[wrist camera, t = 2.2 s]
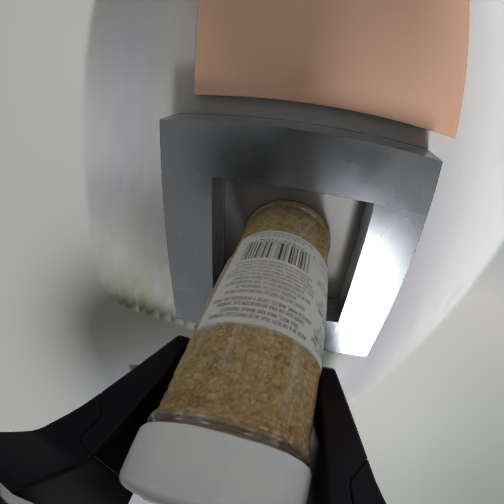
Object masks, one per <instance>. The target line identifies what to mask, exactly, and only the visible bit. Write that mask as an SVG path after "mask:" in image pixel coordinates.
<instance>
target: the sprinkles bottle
mask: <svg viewBox="0 0 504 504" xmlns="http://www.w3.org/2000/svg"><path fill="white" fill-rule="evenodd" d="M329 249H330V233H329V231H328V228H327V225H326V224H325V222H324V220H323V219H322V217H321V216H319V215H318V213H317V212H316V211H314V210H313V209H312V208H310V207H308V206H306V205H304V204H302V203H299V202H294V201H289V200H281V201H273V202H270V203H268V204H265V205H264V206H261V207H260V208H259V209H258V210H256V211H255V212H254V213H253V214H252V215H251V216H250V218H249V219H248V221H247V224H246V227H245V229H244V234H243V236H242V238H241V240H240V242H239V244H238V246H237V248H236V250H235V252H234V254H233V255H232V256H231V257H230V258H229V260H228V262H227V264H226V266H225V267H224V269H223V271H222V273H221V275H220V277H219V279H218V281H217V283H216V285H215V287H214V289H213V291H212V293H211V295H210V297H209V299H208V301H207V304H206V308H205V310H204V312H203V314H202V316H201V317H200V319H199V322H198V324H197V325H196V328H195V330H194V332H193V335H192V337H191V338H190V340H189V342H188V345H187V347H186V350H185V352H184V355H183V356H182V357H181V359H180V361H179V364H178V366H177V368H176V370H175V372H174V374H173V378H172V380H171V382H170V383H169V386H168V390H167V391H166V392H165V393H164V396H163V399H162V400H161V402H160V406H159V407H158V408H157V409H156V410H154V411H153V412H152V413H151V414H150V416H149V417H148V419H147V422H148V423H146V424H144V425H142V426H141V427H140V429H139V431H138V433H137V435H136V437H135V439H134V441H133V443H132V445H131V447H130V450H129V452H128V454H127V457H126V459H125V461H124V463H123V466H122V468H121V470H120V474H119V480H120V482H121V484H122V485H123V486H124V487H125V488H126V489H128V490H129V491H131V492H132V493H134V494H136V495H138V496H140V497H142V498H143V499H144V500H146V501H148V502H150V503H152V504H307V500H308V496H309V490H310V485H311V479H312V473H311V470H310V468H309V466H310V464H311V455H310V452H309V449H310V440H311V434H312V430H313V421H314V415H315V409H316V401H317V392H318V384H319V380H320V377H321V371H322V363H323V350H324V338H325V325H326V312H327V292H328V271H327V256H328V252H329Z"/></svg>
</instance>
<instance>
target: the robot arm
mask: <svg viewBox="0 0 504 504" xmlns="http://www.w3.org/2000/svg"><path fill="white" fill-rule="evenodd" d="M189 340H190V338H188V337H184V336H181V335H179V336H177V337H175V338H174V339H173V340H172V341H170V342H169V343H167V344H166V345H165V346H163V347H162V348H161V349H159V350H158V351H157V352H156V353H154V354H153V355H151V356H150V357H149V358H147V359H146V360H145V361H143V362H142V363H141V364H139V365H138V366H137V367H135V368H134V369H133V370H131V371H130V372H129V373H127V374H126V375H125V376H123V377H122V378H120V379H119V380H118V381H116V382H115V383H114V384H112V385H111V386H110V387H108V388H107V389H105V390H104V391H103V392H102V394H101V393H100V394H99V395H97V396H96V397H94V398H93V399H92V400H90V401H89V402H87V403H86V404H84V405H83V406H81V407H80V408H78V409H76V410H74V411H73V412H71V413H69V414H68V415H65V416H64V417H62V418H60V419H58V420H56V421H54V422H52V423H50V424H49V425H47V426H45V427H43V428H40V429H38V430H33V431H25V432H0V504H128V503H129V501H130V499H131V496H132V494H133V493H132V492H131V491H129V490H128V489H126V488H125V487H124V486H123V485H122V484H121V482H120V480H119V474H120V470H121V468H122V466H123V463H124V461H125V459H126V457H127V454H128V452H129V450H130V447H131V445H132V443H133V441H134V439H135V437H136V435H137V433H138V431H139V429H140V427H141V426H142V425H144V424H146V423H148V422H147V419H148V417H149V416H150V414H151V413H152V412H153V411H154V410H156V409H157V408H158V407H159V406H160V402H161V400H162V399H163V396H164V393H165V392H166V391H167V390H168V386H169V383H170V382H171V380H172V378H173V374H174V372H175V370H176V368H177V366H178V364H179V361H180V359H181V357H182V356H183V355H184V352H185V350H186V347H187V345H188V342H189ZM309 452H310V455H311V464H310V466H309V468H310V470H311V473H312V479H311V485H310V490H309V496H308V500H307V504H386V502H385V500H384V498H383V496H382V494H381V492H380V490H379V488H378V485H377V483H376V481H375V478H374V475H373V473H372V470H371V467H370V464H369V462H368V460H367V456H366V453H365V450H364V447H363V445H362V442H361V439H360V436H359V434H358V431H357V428H356V425H355V422H354V420H353V417H352V414H351V411H350V409H349V406H348V403H347V400H346V398H345V395H344V392H343V390H342V387H341V384H340V382H339V379H338V377H337V374H336V371H335V370H334V369H333V368H329V367H322V371H321V377H320V380H319V384H318V392H317V401H316V409H315V415H314V421H313V430H312V434H311V440H310V449H309Z"/></svg>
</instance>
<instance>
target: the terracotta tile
mask: <svg viewBox="0 0 504 504" xmlns="http://www.w3.org/2000/svg"><path fill="white" fill-rule="evenodd" d="M468 40H469V0H199V3H198V16H197V31H196V48H195V70H194V95H224V96H244V97H258V98H269V99H279V100H288V101H296V102H304V103H311V104H318V105H324V106H330V107H336V108H341V109H347V110H352V111H357V112H361V113H366V114H371V115H375V116H379V117H384V118H388V119H392V120H396V121H399V122H403V123H407V124H410V125H414V126H417V127H421V128H424V129H427V130H431V131H434V132H437V133H440V134H443V135H446V136H449V137H452V138H455V137H456V133H457V128H458V123H459V117H460V111H461V106H462V99H463V92H464V85H465V77H466V67H467V56H468Z"/></svg>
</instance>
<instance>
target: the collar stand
mask: <svg viewBox="0 0 504 504" xmlns="http://www.w3.org/2000/svg"><path fill="white" fill-rule="evenodd" d="M160 147H161V169H162V186H163V201H164V213H165V225H166V235H167V245H168V254H169V263H170V272H171V279H172V287H173V294H174V301H175V308H176V315H177V319H181V320H185V321H188V322H192V323H196V324H198V322H199V319H200V317H201V316H202V314H203V312H204V310H205V308H206V304H207V301H208V299H209V297H210V295H211V293H212V291H213V289H214V287H215V285H216V283H217V281H218V279H219V277H220V275H221V273H222V271H223V269H224V227H225V183H226V179H232V180H239V181H247V182H254V183H261V184H268V185H275V186H281V187H288V188H294V189H300V190H306V191H312V192H317V193H323V194H328V195H334V196H339V197H344V198H350V199H355V200H360V201H364V202H366V203H365V207H364V211H363V215H362V219H361V223H360V227H359V231H358V235H357V238H356V242H355V246H354V249H353V253H352V256H351V260H350V263H349V267H348V270H347V274H346V277H345V280H344V283H343V287H342V290H341V293H340V296H339V299H337V298H331V297H327V312H326V325H325V338H324V350H325V351H331V352H337V353H344V354H351V355H358V356H365V357H366V356H367V355H368V353H369V351H370V349H371V347H372V345H373V343H374V341H375V339H376V337H377V335H378V333H379V332H380V330H381V327H382V325H383V323H384V321H385V319H386V317H387V315H388V313H389V311H390V309H391V307H392V304H393V302H394V300H395V298H396V296H397V293H398V291H399V289H400V286H401V284H402V282H403V279H404V277H405V274H406V272H407V270H408V267H409V265H410V262H411V260H412V257H413V254H414V252H415V249H416V246H417V244H418V241H419V238H420V235H421V233H422V230H423V227H424V224H425V221H426V218H427V215H428V212H429V208H430V205H431V202H432V199H433V195H434V192H435V189H436V185H437V181H438V178H439V174H440V170H441V166H442V162H443V161H441V160H440V159H439V158H438V157H436V156H435V155H434V154H433V153H431V152H430V151H429V150H426V149H423V148H419V147H416V146H412V145H408V144H405V143H401V142H397V141H393V140H389V139H385V138H381V137H376V136H372V135H367V134H363V133H358V132H353V131H348V130H343V129H338V128H332V127H326V126H320V125H314V124H307V123H301V122H293V121H286V120H277V119H268V118H259V117H247V116H234V115H218V114H192V113H179V114H176V115H172V116H169V117H166V118H163V119H160Z"/></svg>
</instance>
